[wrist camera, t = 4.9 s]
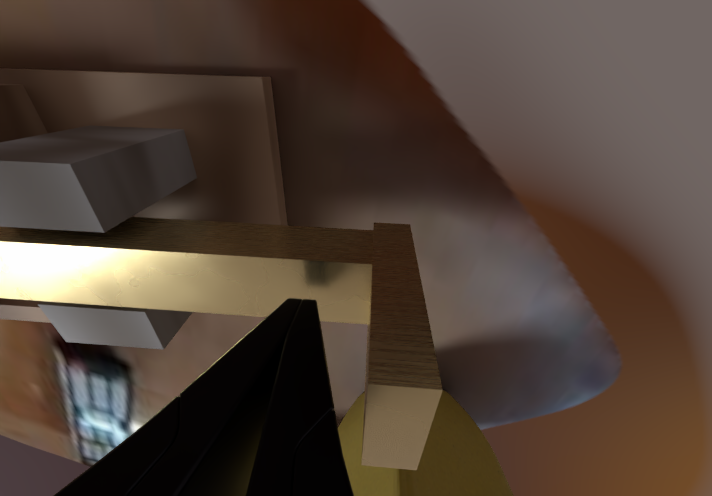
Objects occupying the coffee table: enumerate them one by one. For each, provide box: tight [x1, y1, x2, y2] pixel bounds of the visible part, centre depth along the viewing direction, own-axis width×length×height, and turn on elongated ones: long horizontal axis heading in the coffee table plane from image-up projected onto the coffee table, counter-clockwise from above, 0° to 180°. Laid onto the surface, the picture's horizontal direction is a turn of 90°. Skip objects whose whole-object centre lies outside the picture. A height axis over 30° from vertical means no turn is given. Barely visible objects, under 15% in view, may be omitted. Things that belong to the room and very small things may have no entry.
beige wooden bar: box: [0, 217, 442, 470], centre depth 8 cm, size 15×3×6 cm, turn 89°
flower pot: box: [338, 390, 513, 496], centre depth 18 cm, size 9×9×9 cm
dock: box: [0, 68, 288, 349], centre depth 12 cm, size 21×11×6 cm, turn 89°
